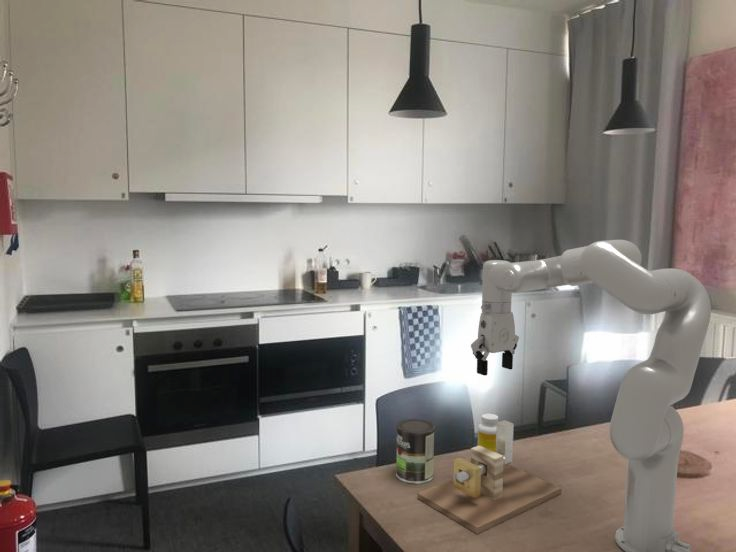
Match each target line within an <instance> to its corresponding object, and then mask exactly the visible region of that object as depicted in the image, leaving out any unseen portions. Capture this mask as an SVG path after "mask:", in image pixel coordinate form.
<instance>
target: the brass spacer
mask: <svg viewBox="0 0 736 552" xmlns="http://www.w3.org/2000/svg"><path fill="white" fill-rule="evenodd" d="M462 471H464V472H466V473H468V474H470V483H468V482H466V481H465V482H463V483H460V484H459V483H457V482H456V480H455V474H456V473H459V472H462ZM453 479H454V483H453V487H455V488H457V489H458V490H460V491H462V492H464V493H466V494H468V495H470V496H472V497H473V498H476V497H478V496H480V488H481V467H479V466H476V465H474V464H472V463H471V461H468V460H465V459H464V458H462V457H458V458H455V459H453Z"/></svg>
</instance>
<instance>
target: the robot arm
mask: <svg viewBox="0 0 736 552" xmlns="http://www.w3.org/2000/svg"><path fill="white" fill-rule="evenodd" d="M642 258H643V257H642V253H641V251H640V249H639V248H638V246H637V245H636V244H635V243H633V242H632V241H630V240H625V239H610V240H597V241H594V242H593V243H590V244H589V245H586V246H581V247H576V248H571V249H566V250H565V251H564V252H562V254H561V255H557V256H553V257H549V258H542V259H536V260H525V261H517V262H516V261H515V262H510V261H508V260H503V259H502V260H501V259H491V260H486V261H485V262H483V265H482V290H481V291H482V292H481V293H482V294H481V296H482V297H481V306H480V309H481V312H480V316H479V321H478V322H479V323H478V331H477V339H475V340H474V341H473V342H471V344H470V348H471V350H472V354H473V356H474V358H475V359H476V373H477V374H478V375H481V376H487V375H488V369H489V368H488V367H489V365H488V364H489V363H488V360H487V358H488V356H489V355H490V353H491V354H496V353H501V352H502V355H501V367H502V368H503V369H507V370H513V365H514V364H513V362H514V355H515V350H516V349H517V346H518V343H519V339H520V336H519V335H517V334H516V327H515V317H514V312H512V296H513V295H512V293H514V294H516V293H517V294H518V293H525V292H526V293H527V292H530V291H531V292H532V291H538V290H544V289H545V290H546V289H550V288H557V287H563V286H571V287H576V286H577V287H578V286H583V285H589V284H594V285H596V286H598V287H599V288H600V289H601V290H603V291H604V292H606V293H607V294H608V295H610V296H611V297H612V298H614V299H615V300H617V301H618V302H620V303H621V304H623V305H624V306H625V307H627V308H628V309H630V310H632V311H634V312H636V313H638V314H642V315H656V314H659V313H660V314H661V313H663V312H664V317H663V318H662V319H663V320H662V322H661V323H660V325H659V327H658V329H657V331H656V335H655V339H654V342H653V346H652V349H651V351H650V353H649V357H648V358H647V359H646V360H645V361H641V362H639V363H637V364H634V366H632V367H630V368H629V369H628V371H626V373H625V374H624V376H623V378H622V379H621V383H620V385H619V388H618V392H617V396H616V401H615V403H614V408H613V411H612V414H611V419H610V423H609V438H610V442H611V444H612V446H613V448H614V449H615V451H616V452H617V453H618V454H620V455H621V456H622V457H624V458H625V459H627V463H626V464H627V465H626V478H625V479H626V480H625V498H624V516H623V526H621V527H619V528H618V529H616V532H615V536H614V538H615V539H614V540H615V542H616V544H617V545H618V546H619V547H620V548H621V549H622V550H623V551H624V552H692V551H691V545H690V544H688V543H686V542H683V541H681V540H680V539H679V538H678V536H679V531H677V530H675V529H674V519H675V506H676V505H675V503H676V492H677V491H676V490H677V480H678V479H677V478H678V467H679V458H680V455H681V454H680V453H681V448H682V444H683V439H684V435H685V434H684V433H685V432H684V431H685V427H684V422H683V419H682V417H681V415H680V413H679V412H678V411H677V409H675V408H674V407H673V406H672V405H674V404H676V403H678V402H679V401H682V400H683V399H685V398H686V397H687V396H688V395H689V393H690V391H691V389H692V385H693V381H694V378H695V374H696V370H697V368H698V365H699V360H700V357H701V354H702V349H703V345H704V343H705V339H706V336H707V333H708V330H709V326H710V322H711V315H712V305H711V301H710V296H709V294H708V291H707V290H706V288H705V286H704V285H703V284H702V283H701V281H700V280H699V279H698V278H697V277H695V276H694V275H693V274H691V273H689V272H688V271H686V270H683V269H679V268H670V267H669V268H668V267H667V268H659V269H653V270H648V269H646V268H645V267H643V266H641V264H642ZM483 352H484V353H483Z"/></svg>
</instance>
